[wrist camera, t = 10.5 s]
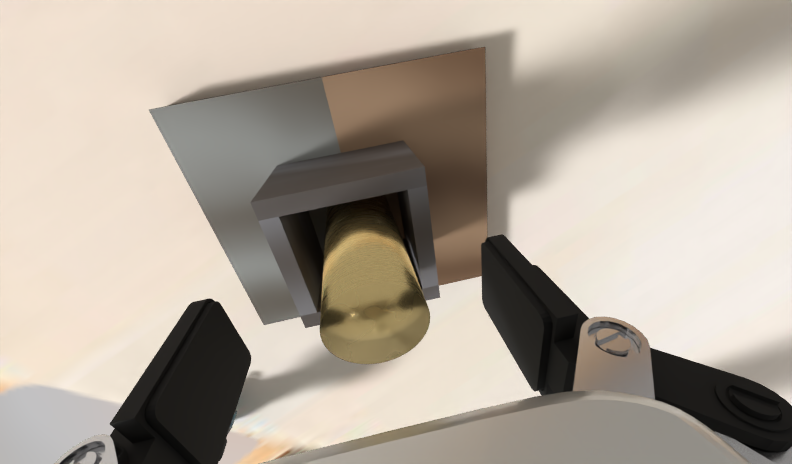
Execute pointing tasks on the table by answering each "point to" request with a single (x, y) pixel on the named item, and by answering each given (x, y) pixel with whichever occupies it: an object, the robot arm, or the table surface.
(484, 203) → the base with square socket
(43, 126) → the table surface
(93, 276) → the table surface
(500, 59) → the table surface
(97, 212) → the table surface
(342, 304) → the hinge pin
